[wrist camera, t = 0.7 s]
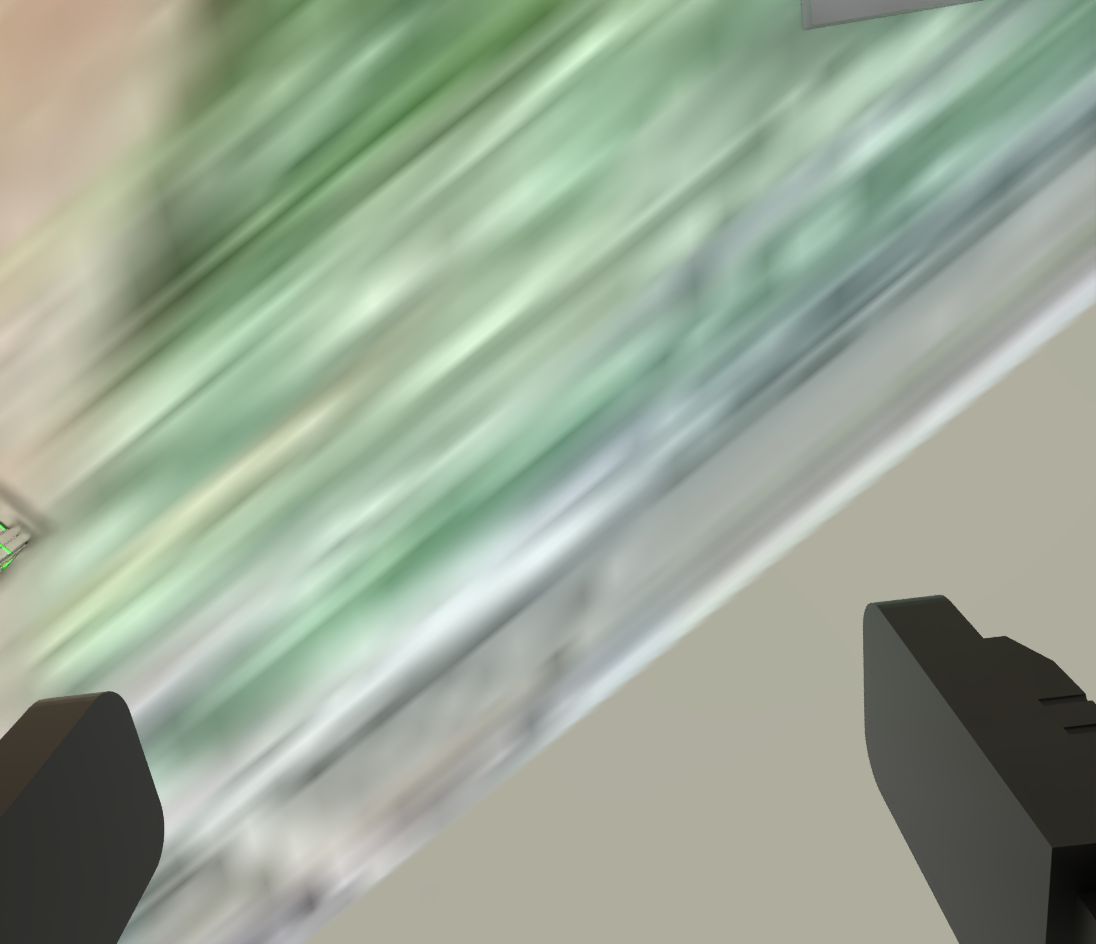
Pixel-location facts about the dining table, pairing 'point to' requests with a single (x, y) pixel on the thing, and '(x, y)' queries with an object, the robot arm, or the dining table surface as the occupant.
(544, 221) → the dining table surface
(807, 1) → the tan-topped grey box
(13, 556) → the roof frame
